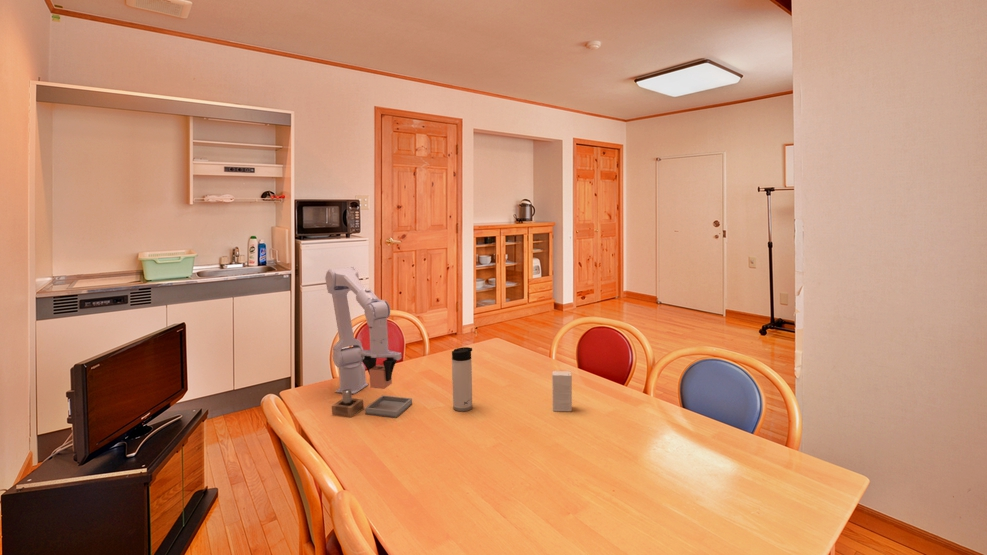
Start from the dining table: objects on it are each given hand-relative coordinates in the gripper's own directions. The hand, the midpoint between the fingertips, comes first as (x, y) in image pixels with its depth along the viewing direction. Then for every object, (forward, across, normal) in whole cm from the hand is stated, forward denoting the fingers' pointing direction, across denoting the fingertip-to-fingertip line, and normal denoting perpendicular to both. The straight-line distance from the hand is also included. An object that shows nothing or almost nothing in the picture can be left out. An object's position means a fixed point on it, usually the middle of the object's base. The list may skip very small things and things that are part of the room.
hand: (380, 379), depth 155 cm
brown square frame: (+10, -9, -6) cm, 14 cm away
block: (+2, 0, 0) cm, 2 cm away
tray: (+10, +3, 0) cm, 10 cm away
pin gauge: (+10, -9, -6) cm, 14 cm away
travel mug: (+10, +26, +7) cm, 28 cm away
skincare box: (+10, +57, +14) cm, 59 cm away
